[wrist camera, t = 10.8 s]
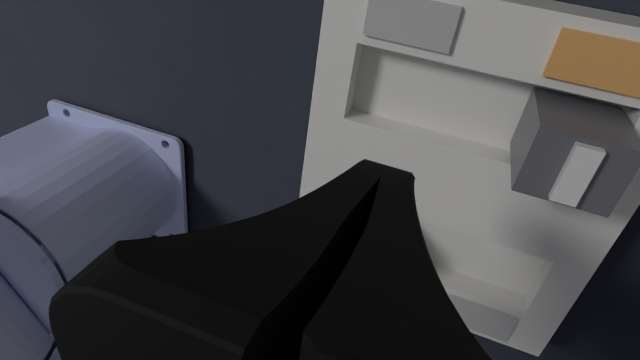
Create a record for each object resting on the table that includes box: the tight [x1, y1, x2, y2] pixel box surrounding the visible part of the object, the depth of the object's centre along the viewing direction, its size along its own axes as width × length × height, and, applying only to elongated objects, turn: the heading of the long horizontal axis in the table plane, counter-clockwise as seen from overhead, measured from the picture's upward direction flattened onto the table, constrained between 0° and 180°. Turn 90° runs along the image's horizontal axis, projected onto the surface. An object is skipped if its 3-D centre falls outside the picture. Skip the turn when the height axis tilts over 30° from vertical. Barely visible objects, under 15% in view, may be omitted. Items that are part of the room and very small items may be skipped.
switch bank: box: [299, 0, 640, 357], centre depth 19 cm, size 13×15×3 cm
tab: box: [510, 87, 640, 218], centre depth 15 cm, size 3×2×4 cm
